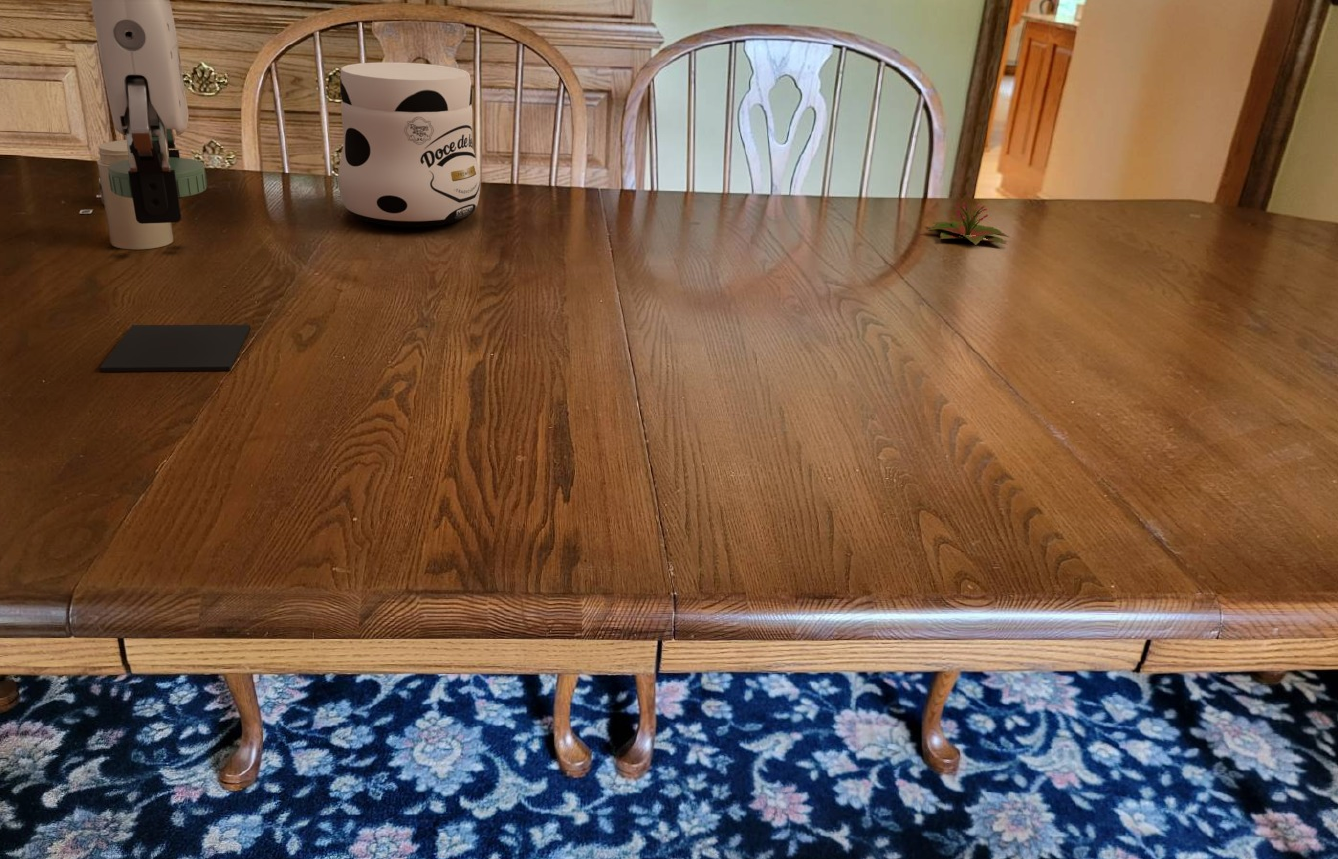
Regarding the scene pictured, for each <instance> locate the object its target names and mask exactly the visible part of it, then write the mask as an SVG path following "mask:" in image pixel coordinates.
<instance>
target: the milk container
mask: <svg viewBox="0 0 1338 859" xmlns="http://www.w3.org/2000/svg"><path fill="white" fill-rule="evenodd" d="M339 74H340V76H339V80H340V81H339V91H340V98H341V102H340V114H341V123H342V136H343V138H342V140H343V142H342V149H341V150H342V151H341V155H340V161H339V165H338V170H337V172H338V174H337V178H338V179H337V181H338V182H337V183H338V188H339V193H340V197H341V198H340V199H341V201H342V204H343V206H344V208H345V209H346V210H347V212H349V213H350V214H351V215H353V216H354V217H356V218H358V219H360V220H361V221H366V222H370V223H373V224H377V225H381V226H391V227H392V226H393V227H397V228H424V227H438V226H443V225H447V224H453V223H457V222H459V221H462V220H465V219H467V218H468V217H469V216H471V215H472V214H473V213H474V212H475V211H476V208H477V207H478V205H479V199H480V195H481V173H480V169H479V165H478V162H477V158H476V154H475V150H474V143H473V106H472V105H473V87H472V79H471V74H470V73H469V72H468V71H467V70H465V69H462V68H458V67H453V66H447V65H440V64H431V63H430V64H429V63H418V62H401V61H400V62H398V61H397V62H394V61H393V62H391V61H390V62H389V61H388V62H387V61H386V62H381V61H380V62H378V61H377V62H360V63H353V64H347V65H345V66H342V67H341V68H340V73H339Z"/></svg>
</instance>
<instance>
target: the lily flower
mask: <svg viewBox="0 0 1338 859" xmlns="http://www.w3.org/2000/svg"><path fill="white" fill-rule="evenodd" d="M962 205H963V207H962V206H961V205H960V204H959V203H956V204H955V206H956V207H958V208H960V209H961V211H962V212H963V213H964V215H965V216H966V217H965V216H963V215H962V213H961V211H960V209H957V213H956V216H957V217H959V218H961V220H962V222H959V221H955V220H953V221H952V222H947V221H931V223H932V224H933V225H932V226H930V228H925V231H942V232H941V233H940V238H939V239H940V240H943V239H946V240H947V239H959V238H958V237H959V235H958V234H960V236H961V235H963V234H965V235H963V237H965V238H961V239H963V240H969V241H970V242H972V243H973V244H974V245H975V246H977V245H978V244H979V243H980V241H983V240H982V239H983V238H986V239H988V240H985V241H986V242H987V241H988V242H993V243H997V244H1002V245H1007V246H1008V244H1009V243H1006V241H1005V240H1004V239H1003V238H1002V237H1006V238H1010V236H1009V235H1008V234H1006V233H1004V232H1002V231H1001V230H1000V229H998V228H995V227H994V226H989V225H988V226H985V225H981V224H979V223H980V222H981V221H983V220H984V219H986V218H988V217H989V215H988V214H985V215H983V217H981V218H979V219H977V218H978V217H979V216H980V214H981V213H982V212H986V211H987V210H988V208H986V205H983V206H981V207H980V205H981V203H978V205H977V206H976V208H975V209H974V211H973V213H972V214H971V212H972V209H970V210H969V209H968V208H967V205H966V203H965V202H962ZM979 207H980V208H979ZM977 208H979V209H978V210H977ZM970 214H971V216H970ZM970 234H971V235H976V236H972V237H969V236H966V235H970ZM994 235H995V236H994ZM998 236H1001V237H998ZM998 242H1000V243H998Z"/></svg>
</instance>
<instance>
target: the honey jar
mask: <svg viewBox="0 0 1338 859" xmlns="http://www.w3.org/2000/svg"><path fill="white" fill-rule="evenodd" d="M97 153H98V155H99V157H100V158H99V159H97V161H96V165H97V170H98V171H97V172H98V177H99V178H100V183H101V189H102V195H103V201H104V204H103V206H104V213H105V218H106V224H107V231H108V236H109V243H110V245H111V246H112V247H115V248H118V249H123V250H134V251H135V250H139V251H140V250H152V249H158V248H162V247H166V246H168V245H170V244H172V243H173V242H174V232H173V226H172V224H173V223H147V224H141V223H139V222H137V220H136V216H135V210H134V204H133V198H127V197H122V196H118V195H116V194H114V193H113V192H112V191H111V188H110V182H109V176H108V175H109V174H108V172H109V170H108V167H109V165H111V164H113V163H115V162H118V161H123V160H128V150H127V141H118V140H113V141H108V142H104V143H100V144H98V152H97Z"/></svg>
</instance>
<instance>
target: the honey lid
mask: <svg viewBox="0 0 1338 859" xmlns="http://www.w3.org/2000/svg"><path fill="white" fill-rule="evenodd" d="M169 161H170V170H175V177H176V184H177V190H178V197H183V198H184V197H185V198H186V197H190V196H195V195H198V194H201V193H203V192H204V191H205V192H206V190H207V188H208V181H207V174H206V173H207V172H206V169H205V165H204V163H203V162H201V161H199V160H196V159H192V158H187V157H186V158H185V157H180V158H176V157H169ZM108 170H109V172H108V174H109V175H108V176H109V182H110V188H111V191H112V192H113V193H114V194H116V195H118V196H122V197H127V198H132V192H131V186H130V180H129V174H128V171H130V167H129V159H128V160H123V161H118V162H115V163H113V164H111V165H109V167H108Z"/></svg>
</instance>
